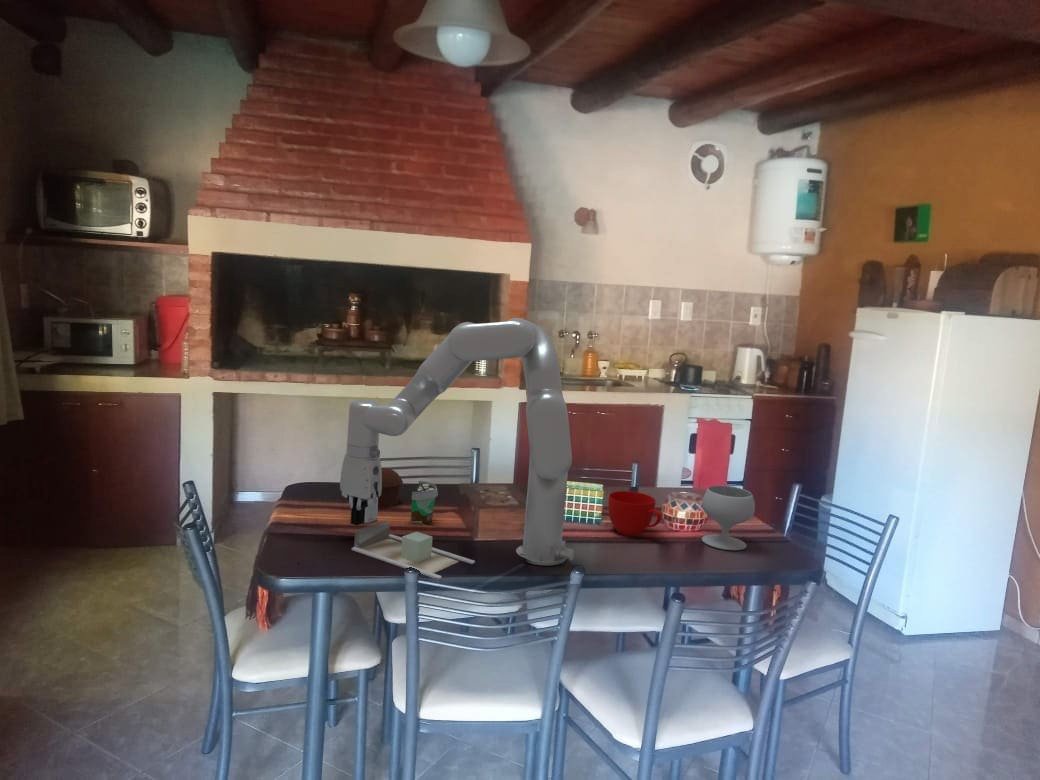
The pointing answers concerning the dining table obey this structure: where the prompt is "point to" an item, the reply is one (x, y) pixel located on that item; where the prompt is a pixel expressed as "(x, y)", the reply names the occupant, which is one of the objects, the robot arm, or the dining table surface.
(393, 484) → the muffin
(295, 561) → the dining table surface
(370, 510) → the skincare box
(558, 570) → the dining table surface
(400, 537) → the lane rails
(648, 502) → the ceramic cup
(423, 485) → the food container
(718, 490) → the chalice
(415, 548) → the block
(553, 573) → the dining table surface
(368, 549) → the beige piece
